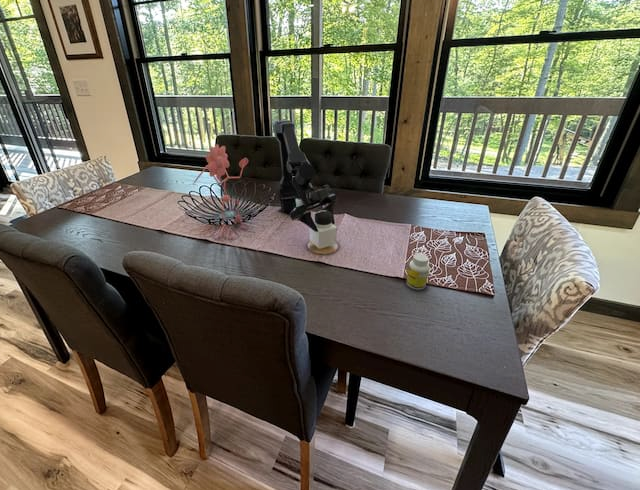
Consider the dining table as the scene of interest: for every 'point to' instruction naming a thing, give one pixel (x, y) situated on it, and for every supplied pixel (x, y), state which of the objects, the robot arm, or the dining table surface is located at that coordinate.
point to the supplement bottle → (418, 272)
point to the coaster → (323, 250)
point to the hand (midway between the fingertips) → (325, 227)
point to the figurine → (217, 168)
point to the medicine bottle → (323, 230)
